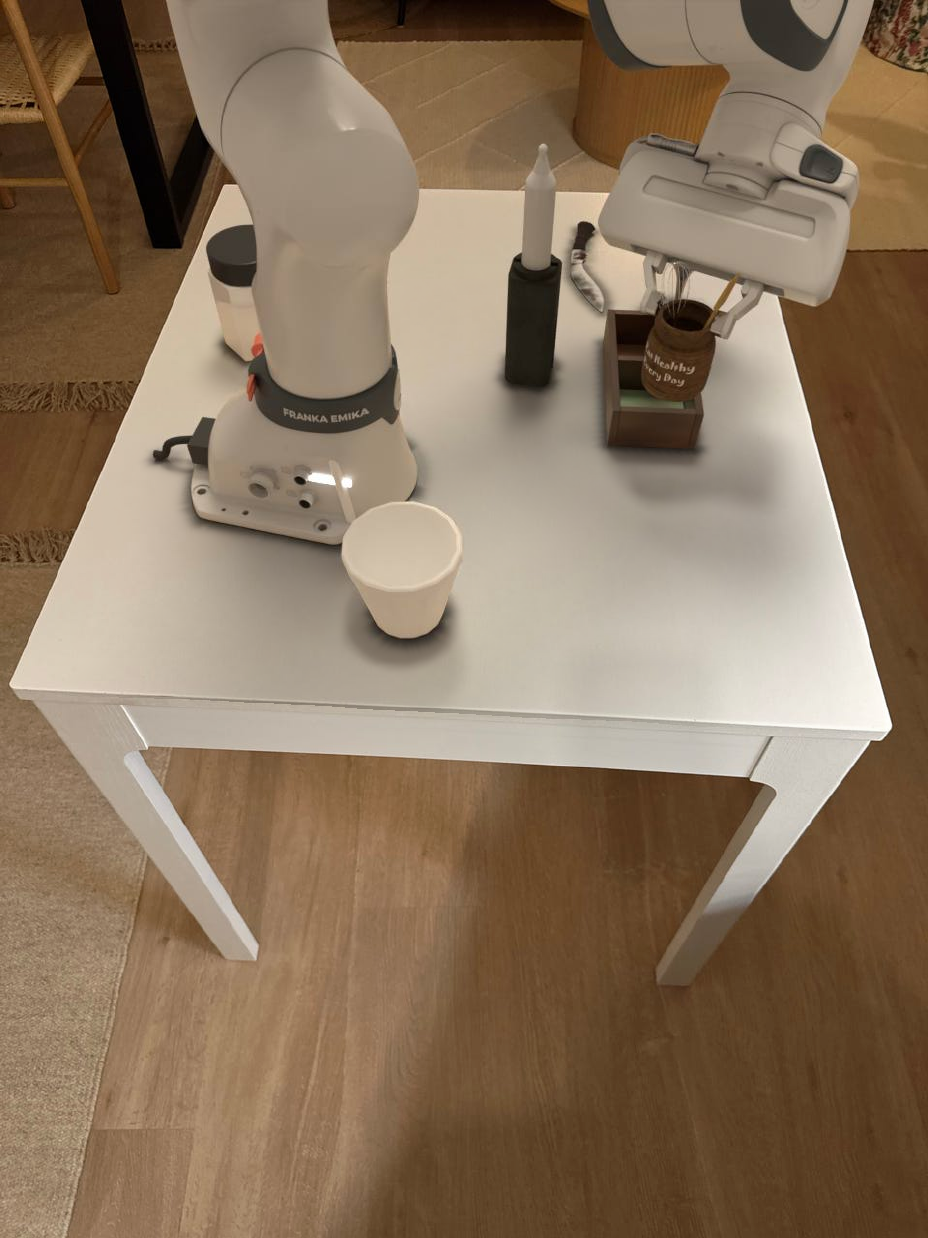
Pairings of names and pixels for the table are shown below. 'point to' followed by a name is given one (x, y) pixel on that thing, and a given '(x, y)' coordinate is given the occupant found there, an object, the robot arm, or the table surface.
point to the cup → (403, 565)
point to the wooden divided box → (641, 391)
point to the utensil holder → (681, 346)
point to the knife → (577, 271)
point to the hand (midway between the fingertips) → (683, 324)
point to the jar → (235, 285)
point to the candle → (534, 285)
